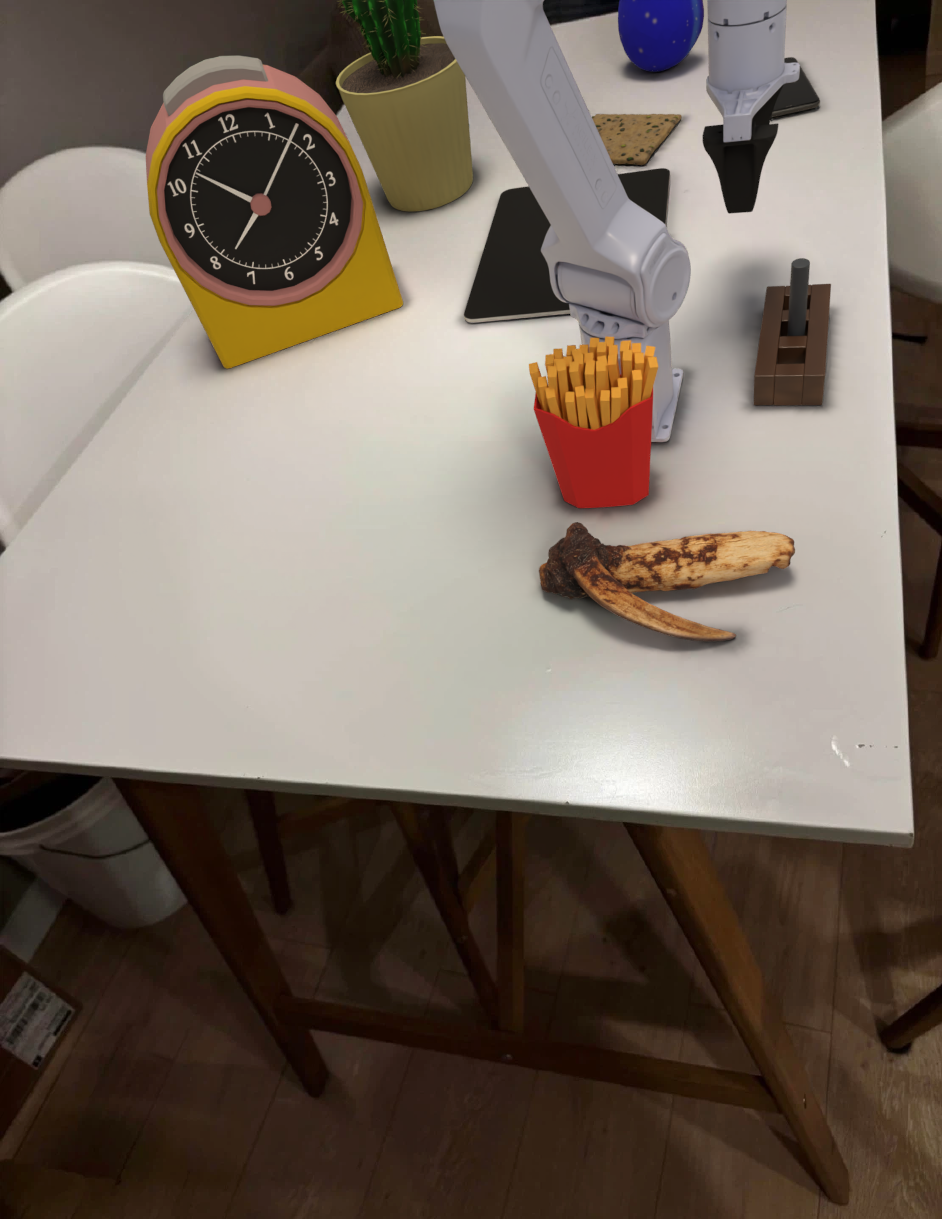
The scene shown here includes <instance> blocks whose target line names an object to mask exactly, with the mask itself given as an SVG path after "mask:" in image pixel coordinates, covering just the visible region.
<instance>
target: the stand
mask: <svg viewBox="0 0 942 1219" xmlns="http://www.w3.org/2000/svg"><path fill="white" fill-rule="evenodd" d="M831 293H832V283H814V284H808V298H807V311H806V325H805V336H787V333H788V315H789V297H790V285H768V286H766V290H765V296H764V303H763V310H762V318H761V325H760V332H759V339H758V347H757V354H756V359H755V367H754V374H753V406H823V401H824V392H825V381H826V368H827V352H828V339H829V337H828V336H829V324H830V323H829V322H830V320H829V319H830V309H831V308H830V307H831Z"/></svg>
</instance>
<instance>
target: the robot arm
mask: <svg viewBox="0 0 942 1219" xmlns="http://www.w3.org/2000/svg"><path fill="white" fill-rule="evenodd" d="M544 1H545V0H433V4H434V8H435V13H436V17H437V21H438V25H439V28H440V31H441V34H442V36H443V37H444V39H445V41H446V43H447V45H448V47H449V48H450V50H451V52H452V54H453V55H454V57H455V59H456V61H457V62H458V64H459V66H460V68H461V69H462V71H463V73H464V75H465V79H466V80H467V81H468V83H469V85H470V87H471V88H472V90H473V92H474V94H475V95H476V97H477V99H478V101H479V102H480V104H481V106H482V108H483V109H484V111H485V113H486V115H487V117H488V118H489V120H490V121H491V123H492V125H493V126H494V128H495V130H496V132H497V134H498V135H499V137H500V139H501V141H502V142H503V144H504V146H505V147H506V150H507V151H508V153H509V155H510V156H511V158H512V160H513V162H514V163H515V165H516V167H517V169H518V170H519V172H520V174H521V176H522V177H523V179H524V180H525V182H526V184H527V186H529V188H530V189H531V191H532V193H533V194H534V196H535V198H536V200H537V201H538V203H539V205H540V207H541V208H542V210H543V212H544V214H545V215H546V217H547V219H548V221H549V222H550V224H551V226H550V228H549V230H548V232H547V234H546V236H545V239H544V242H543V245H542V248H541V252H542V254H543V256H544V257H545V259H546V261H547V264H548V267H549V273H550V282H551V286H552V289H553V292H554V294H555V295H556V297H557V298H558V299H559V300H561V301H562V302H565V303H569V308H570V317H571V318H573V319H574V320H576V321H577V323H578V327H579V328H578V329H579V334H580V341H581V345H588V344H590V338H599V342H605V337H606V336H607V337H614V345H618V364H619V371H620V374H621V362H620V344H621V341H629V340H631V348H632V343H641V353H642V352H644V355H645V350H646V345H647V346H653V347H655V352H654V357H657V362H658V370H657V374H656V378H655V381H654V385H653V412H652V434H651V443H666V442H668V441H669V440H670V439H671V435H672V429H673V425H674V420H675V415H676V412H677V406H678V402H679V397H680V392H681V387H682V384H683V378H684V370H683V368H680V367H679V368H678V367H676V368H675V367H674V368H673V364H672V346H671V345H672V344H671V331H670V330H671V328H670V327H671V326H670V320H671V319H672V318H673V317H674V316H675V315H676V313H677V312H678V311H679V309H680V308H681V307H682V305H683V303H684V301H685V299H686V296H687V293H688V290H689V288H690V283H691V276H692V274H691V273H692V267H691V259H690V255H689V252H688V251H689V250H688V248H687V247H686V245H685V244H684V243H683V242H681V241H680V240H678V239H675V238H674V237H672V236H671V234H670V233H669V230H668V227H667V224H666V225H665V224H664V223H663V222H662V221H660V220H659V219H657V218H656V217H655V216H653V215H652V214H650V213H649V212H647V211H646V210H644V209H643V208H641V207H640V206H638V205H637V204H635V203H634V202H632V201H631V200H630V199H629V198H628V196H627V194H626V192H625V190H624V188H623V185H622V183H621V181H620V179H619V177H618V174H619V173H618V172H617V170H616V168H615V166H614V165H615V164H613V163H612V161H611V159H610V157H609V154H608V152H607V150H606V148H605V146H604V143H603V141H602V139H601V137H600V134H599V132H598V130H597V128H596V126H595V123H594V121H593V119H592V117H593V116H592V115H591V112H590V110H589V108H588V105H587V103H586V102H585V99H584V97H583V95H582V93H581V91H580V88H579V86H578V84H577V81H576V79H575V77H574V74H573V73H572V70H571V68H570V66H569V63H568V62H567V59H566V57H565V55H564V53H563V50H562V48H561V46H560V43H559V41H558V39H557V37H556V35H555V33H554V31H553V28H552V26H551V24H550V22H549V20H548V18H547V15H546V13H545V11H544V5H543V4H544ZM706 1H707V3H706V5H707V6H706V7H707V53H708V54H707V58H708V59H707V60H708V64H707V65H708V76H707V77H706V81H705V88H706V90H705V91H706V94H707V95H708V97H709V98H710V99H711V101H712V103H713V104H714V106H715V107H716V109H717V110H718V111H719V113H720V115H721V117H722V124H713V125H705V126H704V128H703V131H702V145H703V148H704V151H705V152H706V154H707V155H708V157H709V158H710V160H711V162H712V163H713V166H714V168H715V170H716V171H715V172H716V174H717V177H718V180H719V184H720V189H721V194H722V198H723V203H724V207H725V209H726V212H727V214H742V213H743V214H744V213H752V212H753V211H754V208H755V205H756V201H757V197H758V192H759V187H760V181H761V175H762V172H763V168H764V164H765V161H766V158H767V156H768V154H769V152H770V150H771V148H772V146H773V144H774V143H775V140H776V137H777V135H778V132H779V131H778V130H779V123H771V119H772V117H771V115H772V112H773V109H774V106H775V103H776V101H777V98H778V96H779V94H780V91H781V89H782V87H783V85H784V84H785V83H791V82H795V81H797V80H798V79H799V74H800V66H801V64H800V63H799V62H798V63H784V58H786V57H785V56H786V28H787V25H786V24H787V5H788V0H706Z"/></svg>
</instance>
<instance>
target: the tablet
mask: <svg viewBox="0 0 942 1219" xmlns="http://www.w3.org/2000/svg"><path fill="white" fill-rule="evenodd" d="M617 174H618V177H619V179H620V181H621V183H622V185H623V188H624V190H625V192H626V194H627V196H628V198H629V199H630V200H631V201H632V202H634V203H635V204H637V205H638V206H640V207H641V208H643V209H644V210H646V211H647V212H649V213H650V214H652V215H653V216H655V217H656V218H657V219H659V220H660V221H662V222H663V223H664V224H665V225H666V226H667V218H668V205H669V195H670V194H669V193H670V185H671V184H670V182H671V171H670V169H669V168H664V167H659V168H653V169H645V170H638V171H637V170H636V171H631V172H630V171H629V172H622V173H617ZM550 226H551V224H550V222H549V221H548V219H547V217H546V215H545V214H544V212H543V210H542V208H541V207H540V205H539V203H538V201H537V200H536V198H535V196H534V194H533V193H532V191H531V189H530V188H529V186H528V185H527V186H520V187H512V188H508V189H506V190H504V191H502V192H501V193H500V195H499V198H498V201H497V205H496V208H495V211H494V214H493V217H492V221H491V225H490V228H489V230H488V234H487V237H486V240H485V243H484V247H483V250H482V254H481V256H480V260H479V263H478V266H477V270H476V273H475V276H474V278H473V279H474V280H473V283H472V286H471V290H470V292H469V296H468V299H467V303H466V305H465V309H464V312H463V318H464V320H465V321H466V322H468V323H472V324H473V323H484V322H495V321H506V320H516V319H517V320H518V319H526V318H539V317H548V316H559V315H567V314H568V315H569V314H570V308H569V303H565V302H562V301H561V300H559V299H558V298H557V297H556V295H555V294H554V292H553V289H552V286H551V282H550V273H549V267H548V264H547V261H546V259H545V257H544V256H543V254H542V252H541V248H542V245H543V242H544V239H545V236H546V234H547V232H548V230H549V228H550ZM570 315H571V314H570Z"/></svg>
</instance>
